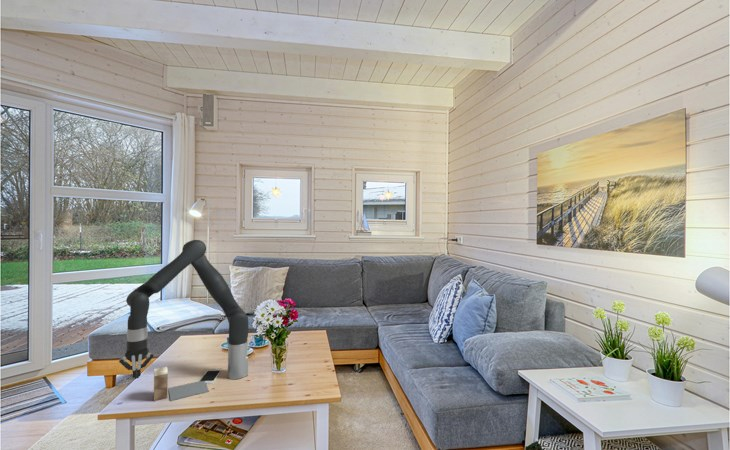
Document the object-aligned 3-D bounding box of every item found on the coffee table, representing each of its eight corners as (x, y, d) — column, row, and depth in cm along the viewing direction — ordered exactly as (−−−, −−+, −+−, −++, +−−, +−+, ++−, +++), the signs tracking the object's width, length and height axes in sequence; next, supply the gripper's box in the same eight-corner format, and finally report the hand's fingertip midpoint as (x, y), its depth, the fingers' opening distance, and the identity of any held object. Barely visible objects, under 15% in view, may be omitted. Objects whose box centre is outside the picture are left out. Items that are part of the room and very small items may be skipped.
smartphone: (197, 384, 163) (197, 383, 163) (208, 371, 178) (208, 369, 178) (212, 384, 163) (212, 382, 163) (222, 370, 179) (222, 368, 179)
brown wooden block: (166, 392, 154) (167, 366, 154) (167, 398, 149) (167, 371, 149) (153, 395, 151) (154, 369, 151) (154, 401, 146) (154, 374, 146)
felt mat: (204, 380, 166) (204, 379, 166) (208, 391, 155) (208, 390, 155) (168, 388, 158) (168, 387, 158) (170, 401, 147) (170, 400, 147)
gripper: (154, 333, 152) (154, 371, 152) (119, 338, 145) (118, 378, 145) (155, 337, 146) (154, 377, 146) (117, 343, 139) (117, 385, 139)
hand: (136, 377), depth 145 cm, fingers closed
